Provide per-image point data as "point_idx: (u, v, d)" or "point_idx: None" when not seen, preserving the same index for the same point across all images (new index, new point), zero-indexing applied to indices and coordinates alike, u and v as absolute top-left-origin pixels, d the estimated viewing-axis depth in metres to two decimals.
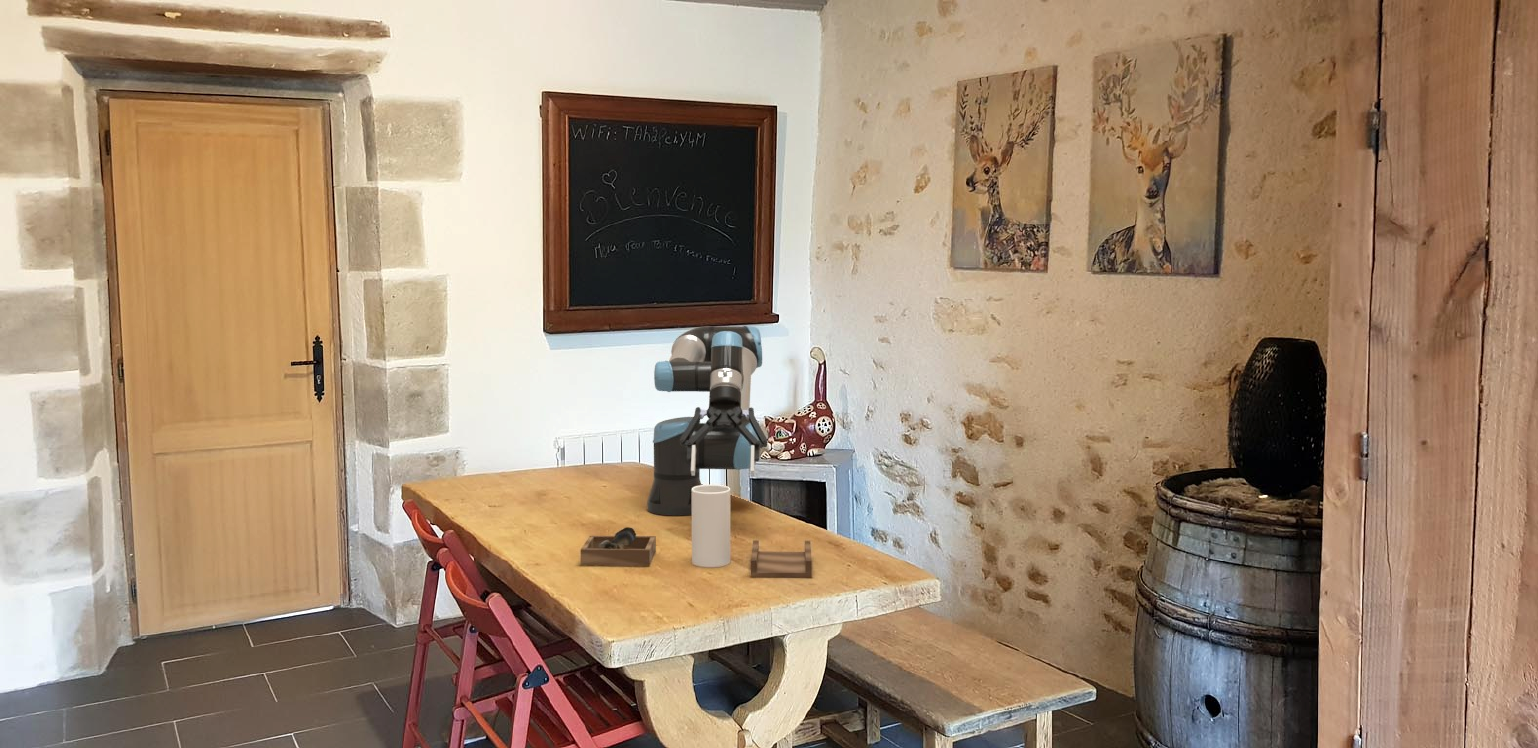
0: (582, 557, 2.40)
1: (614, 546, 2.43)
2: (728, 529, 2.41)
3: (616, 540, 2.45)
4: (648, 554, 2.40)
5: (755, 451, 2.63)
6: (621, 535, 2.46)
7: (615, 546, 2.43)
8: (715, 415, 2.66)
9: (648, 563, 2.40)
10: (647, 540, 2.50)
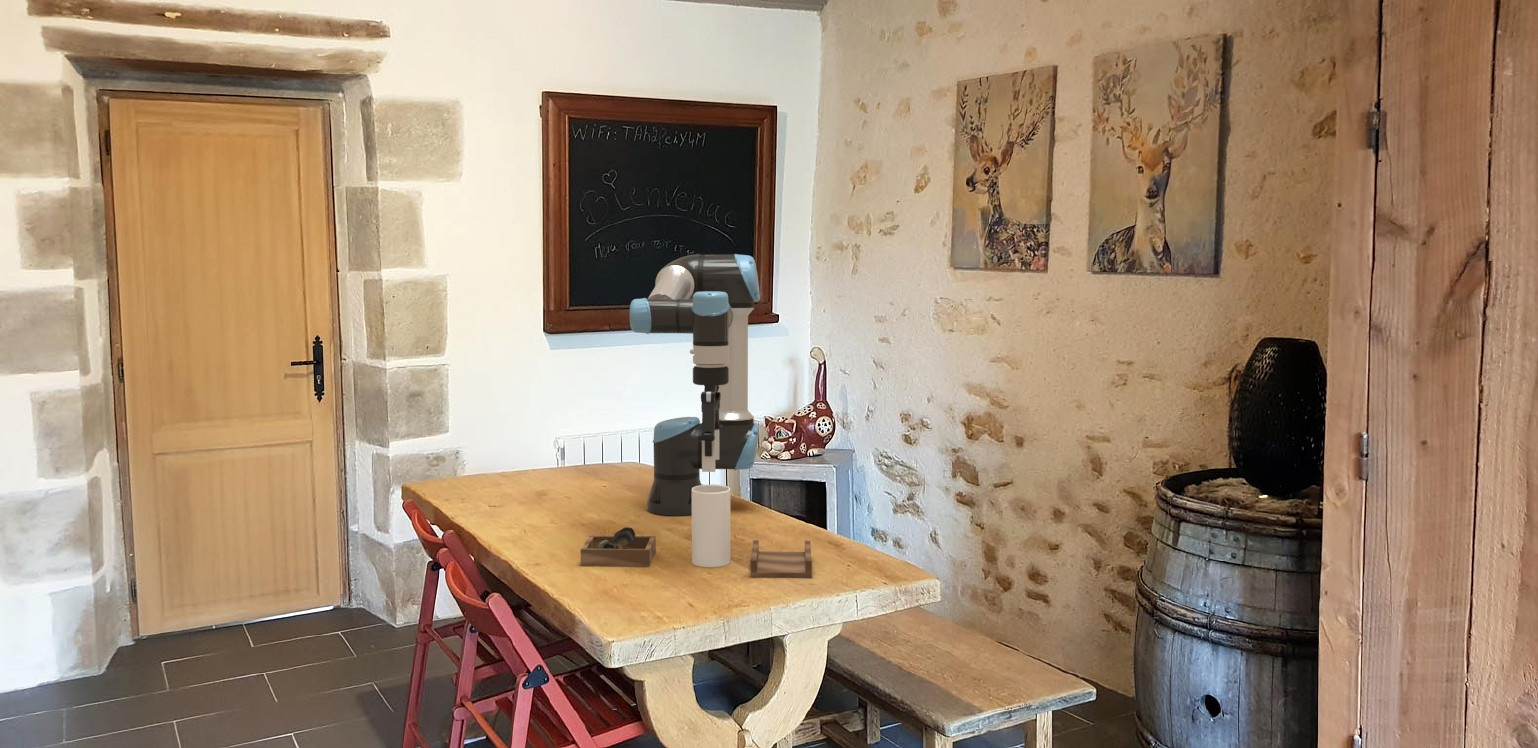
0: (582, 557, 2.40)
1: (613, 546, 2.43)
2: (728, 529, 2.41)
3: (615, 540, 2.45)
4: (648, 554, 2.40)
5: (705, 446, 2.33)
6: (621, 535, 2.46)
7: (614, 546, 2.43)
8: None
9: (648, 563, 2.40)
10: (647, 540, 2.50)
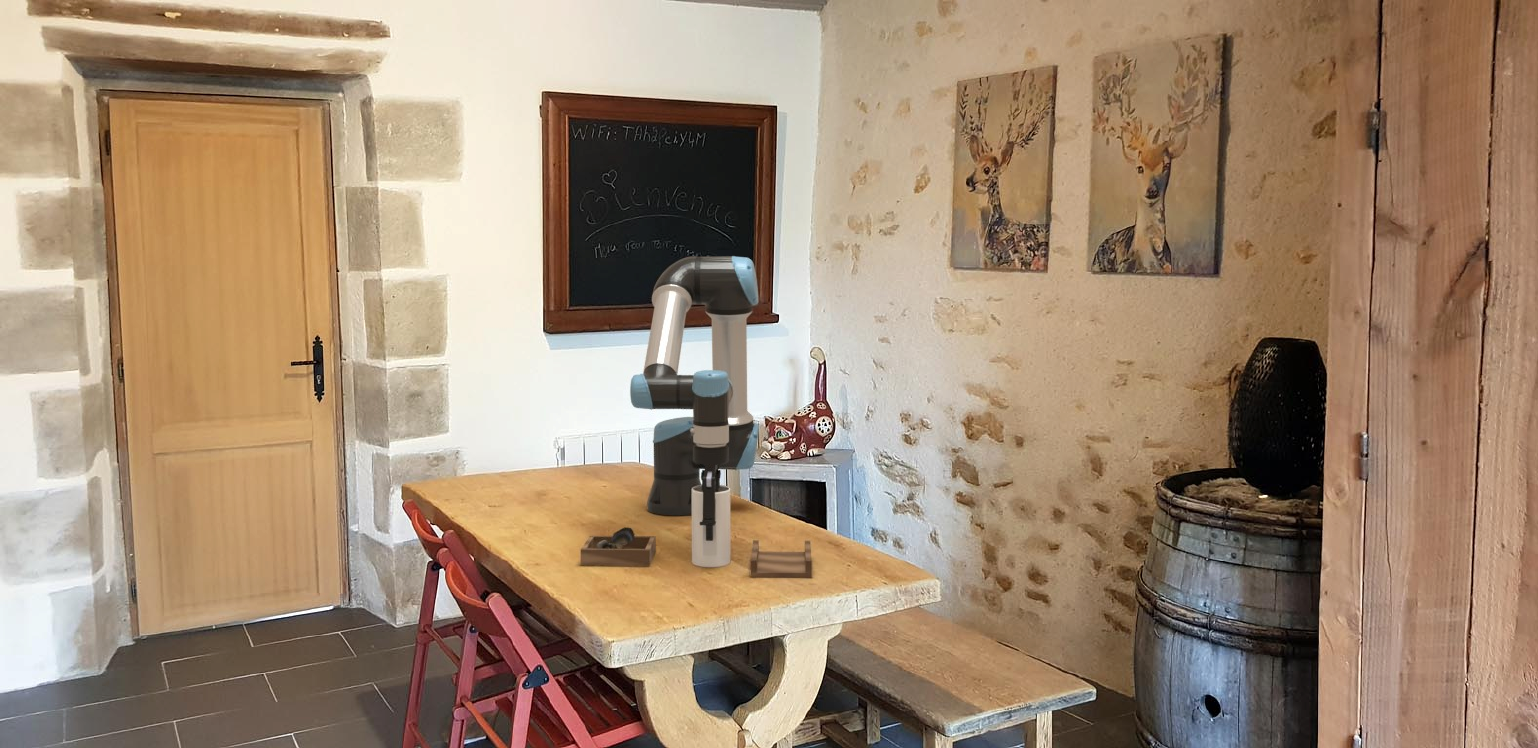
0: (582, 557, 2.40)
1: (612, 546, 2.43)
2: (728, 529, 2.41)
3: (614, 540, 2.45)
4: (648, 554, 2.40)
5: (706, 531, 2.38)
6: (620, 535, 2.46)
7: (613, 546, 2.43)
8: None
9: (648, 563, 2.40)
10: (647, 540, 2.50)
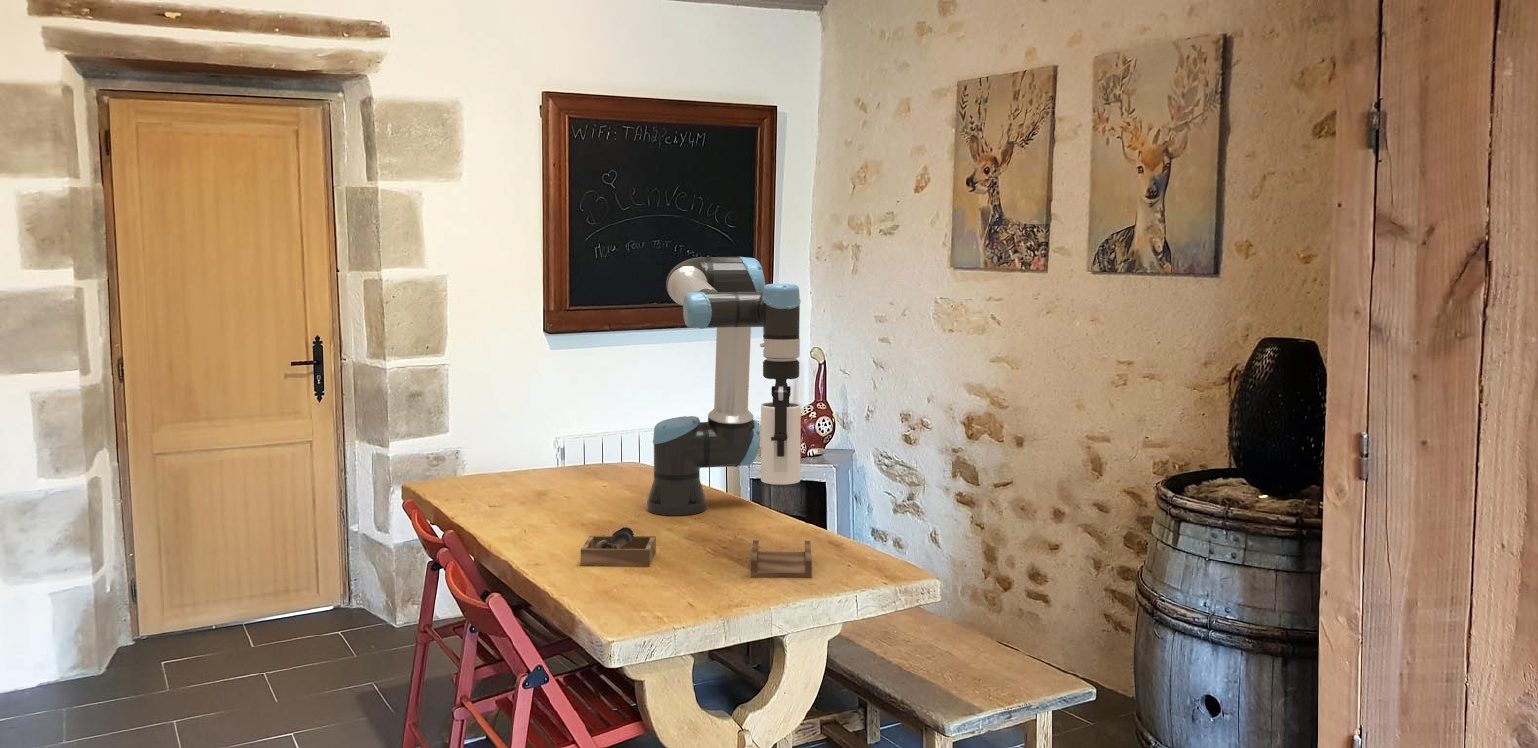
0: (582, 557, 2.40)
1: (611, 546, 2.43)
2: (799, 446, 2.36)
3: (613, 540, 2.45)
4: (648, 554, 2.40)
5: (777, 446, 2.32)
6: (619, 535, 2.46)
7: (612, 546, 2.43)
8: None
9: (648, 563, 2.40)
10: (647, 540, 2.50)
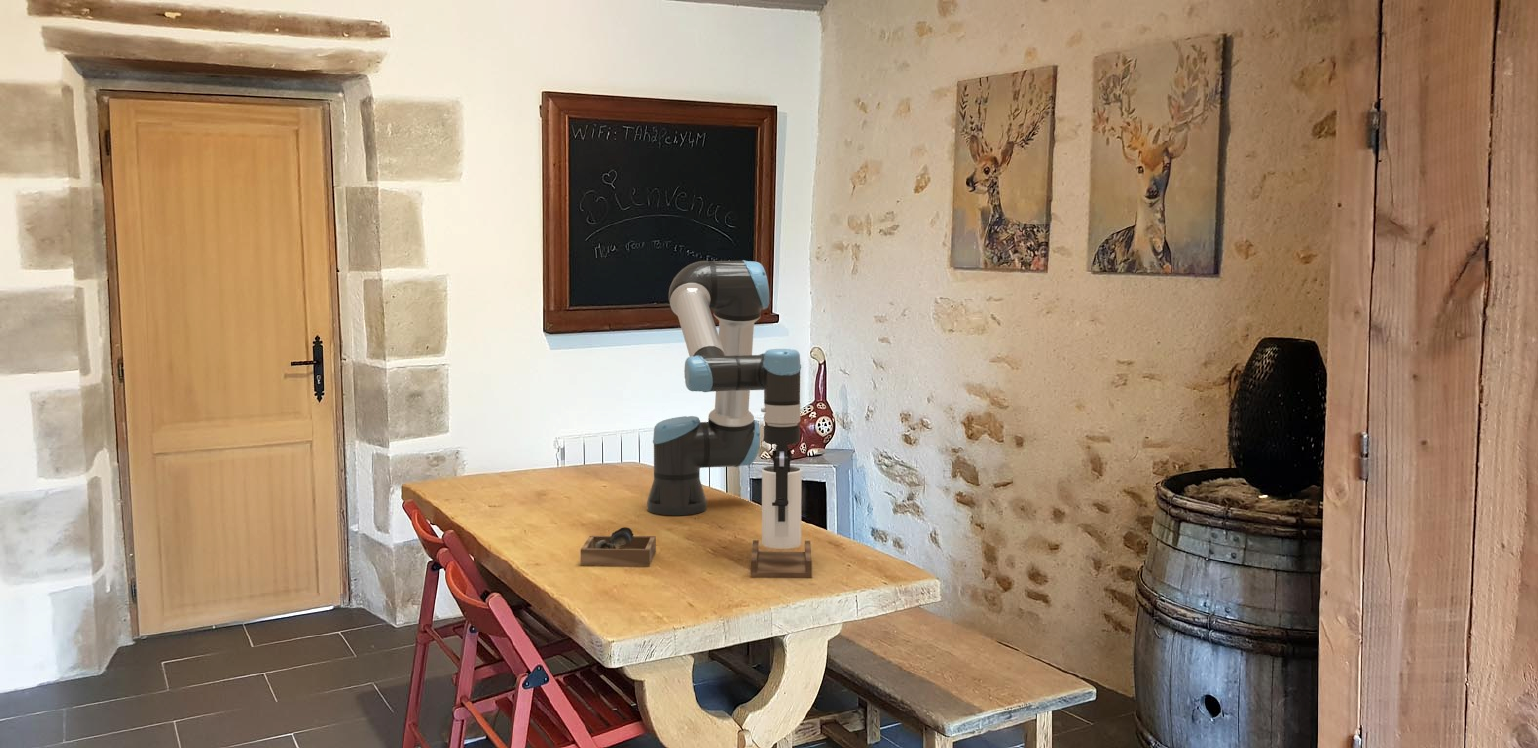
0: (582, 557, 2.40)
1: (610, 546, 2.43)
2: (799, 510, 2.37)
3: (612, 540, 2.45)
4: (648, 554, 2.40)
5: (778, 512, 2.34)
6: (618, 535, 2.46)
7: (611, 546, 2.43)
8: None
9: (648, 563, 2.40)
10: (647, 540, 2.50)
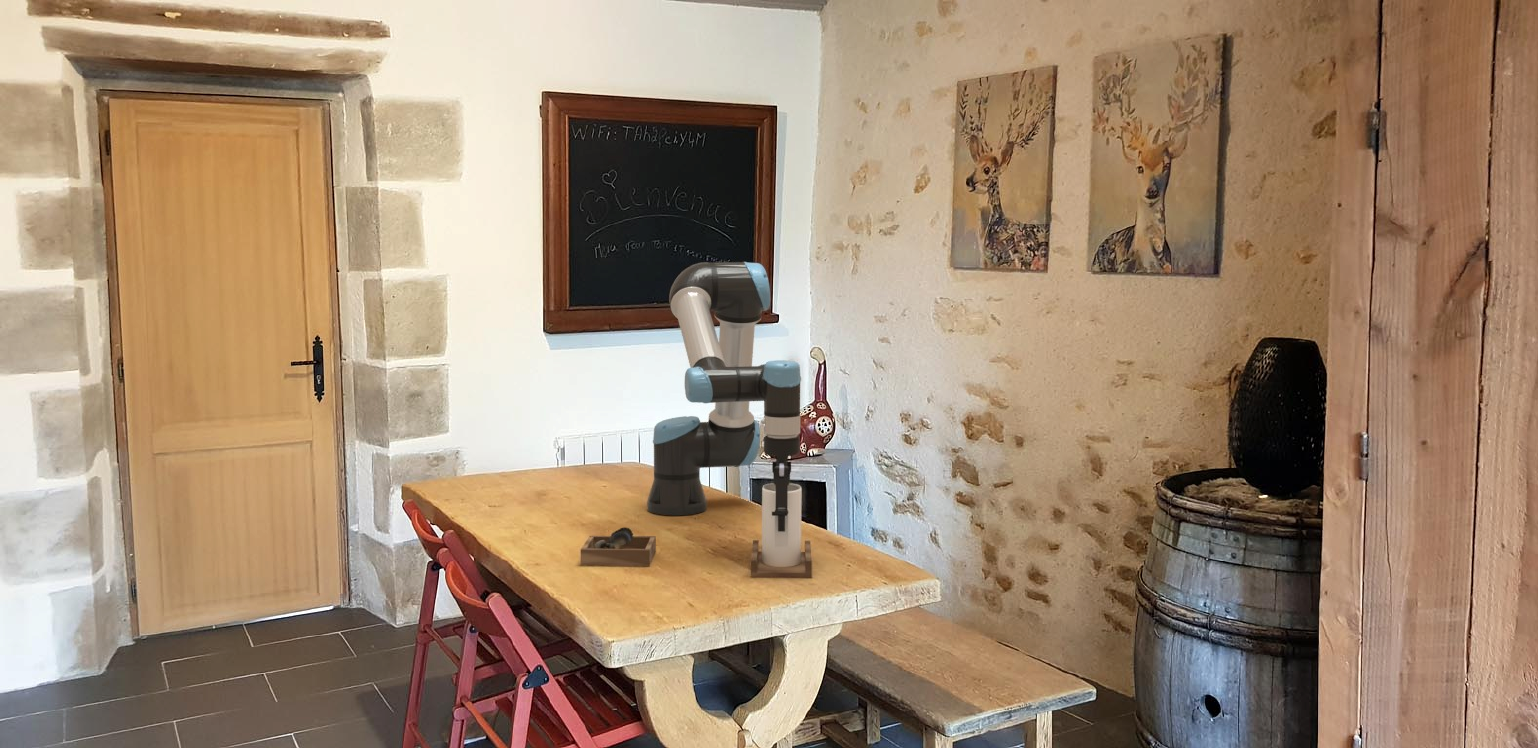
0: (582, 557, 2.40)
1: (610, 546, 2.43)
2: (799, 528, 2.38)
3: (612, 540, 2.45)
4: (648, 554, 2.40)
5: (778, 521, 2.33)
6: (618, 535, 2.46)
7: (611, 546, 2.43)
8: None
9: (648, 563, 2.40)
10: (647, 540, 2.50)
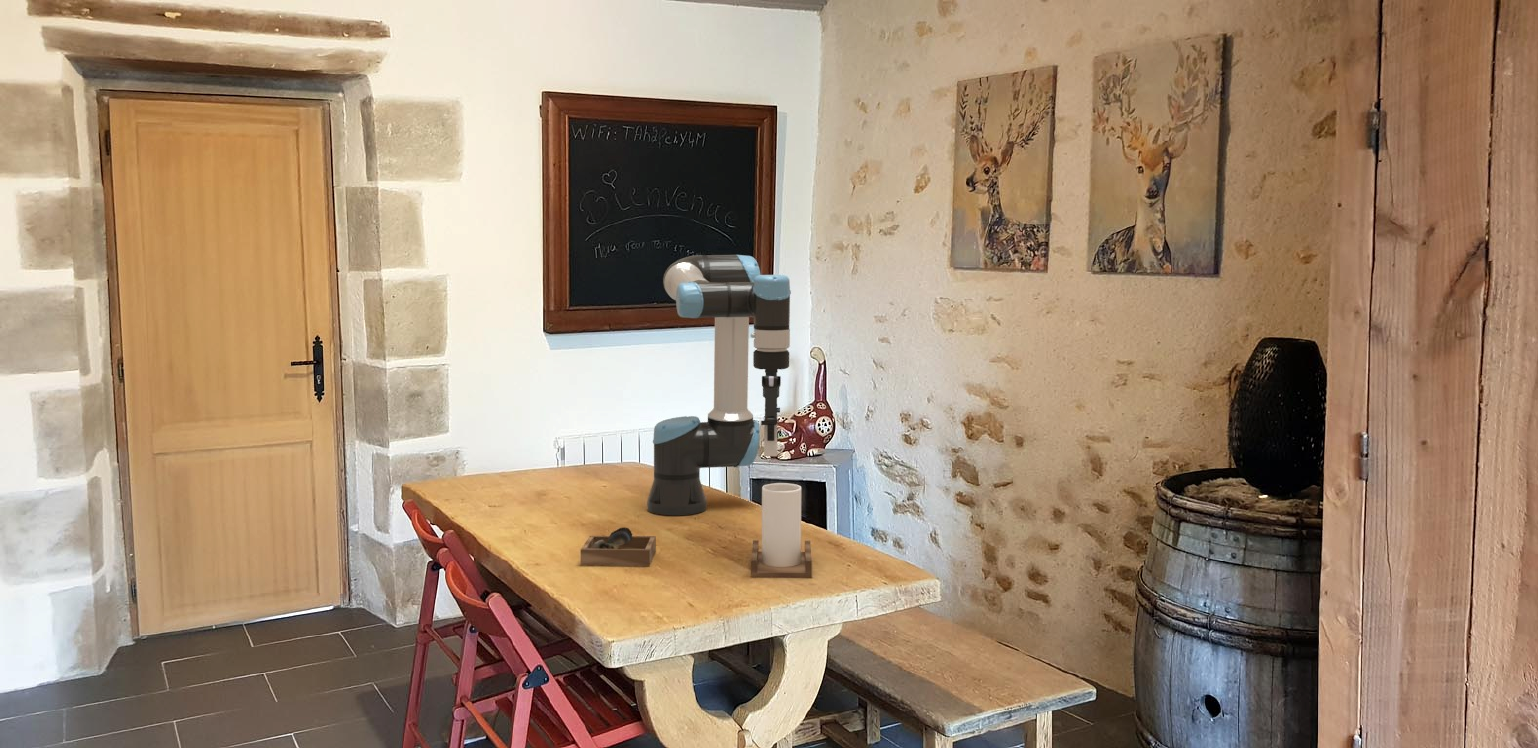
0: (582, 557, 2.40)
1: (609, 546, 2.43)
2: (799, 528, 2.38)
3: (611, 540, 2.45)
4: (648, 554, 2.40)
5: (767, 431, 2.33)
6: (617, 535, 2.46)
7: (610, 546, 2.43)
8: None
9: (648, 563, 2.40)
10: (647, 540, 2.50)
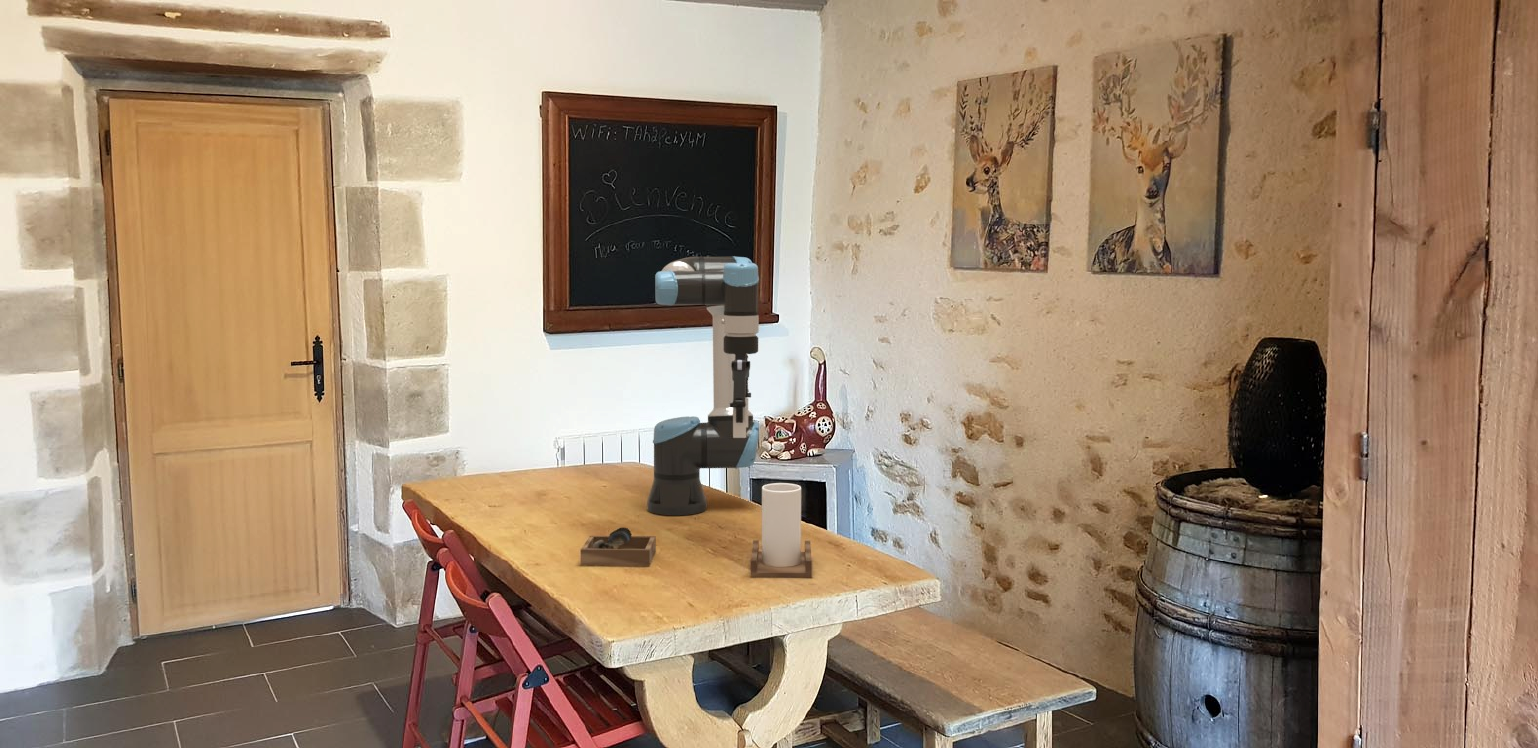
0: (582, 557, 2.40)
1: (608, 546, 2.43)
2: (799, 528, 2.38)
3: (610, 540, 2.45)
4: (648, 554, 2.40)
5: (736, 413, 2.40)
6: (616, 535, 2.46)
7: (609, 546, 2.43)
8: None
9: (648, 563, 2.40)
10: (647, 540, 2.50)
